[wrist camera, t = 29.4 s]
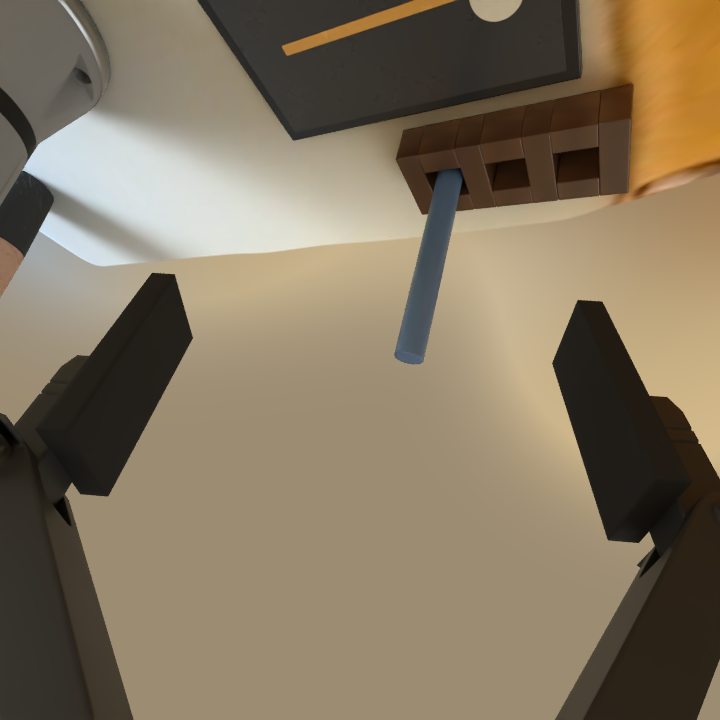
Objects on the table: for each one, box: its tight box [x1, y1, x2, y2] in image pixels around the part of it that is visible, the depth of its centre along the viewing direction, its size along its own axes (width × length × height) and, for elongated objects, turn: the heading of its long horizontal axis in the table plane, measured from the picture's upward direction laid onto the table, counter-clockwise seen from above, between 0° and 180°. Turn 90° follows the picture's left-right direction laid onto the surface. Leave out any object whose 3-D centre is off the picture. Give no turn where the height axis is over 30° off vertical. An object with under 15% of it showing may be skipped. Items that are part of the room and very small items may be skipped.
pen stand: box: [396, 84, 634, 215], centre depth 35 cm, size 16×6×3 cm, turn 116°
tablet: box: [198, 0, 582, 141], centre depth 29 cm, size 22×14×1 cm, turn 116°
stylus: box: [394, 168, 463, 364], centre depth 35 cm, size 2×2×18 cm
